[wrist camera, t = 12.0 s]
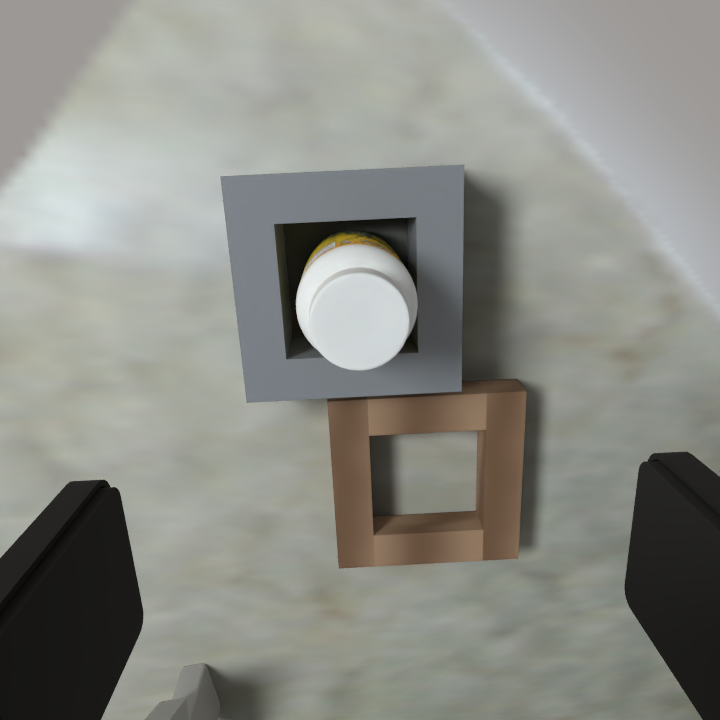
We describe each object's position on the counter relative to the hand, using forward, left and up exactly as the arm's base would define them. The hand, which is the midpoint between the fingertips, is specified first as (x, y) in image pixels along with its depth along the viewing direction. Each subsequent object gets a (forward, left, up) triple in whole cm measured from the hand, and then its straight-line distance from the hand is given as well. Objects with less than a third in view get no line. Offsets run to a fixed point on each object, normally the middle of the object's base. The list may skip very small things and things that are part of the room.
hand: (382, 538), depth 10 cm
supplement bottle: (0, -1, -23) cm, 23 cm away
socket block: (0, -1, -22) cm, 22 cm away
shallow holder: (-4, +11, -22) cm, 25 cm away
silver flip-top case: (+12, +26, -23) cm, 37 cm away
